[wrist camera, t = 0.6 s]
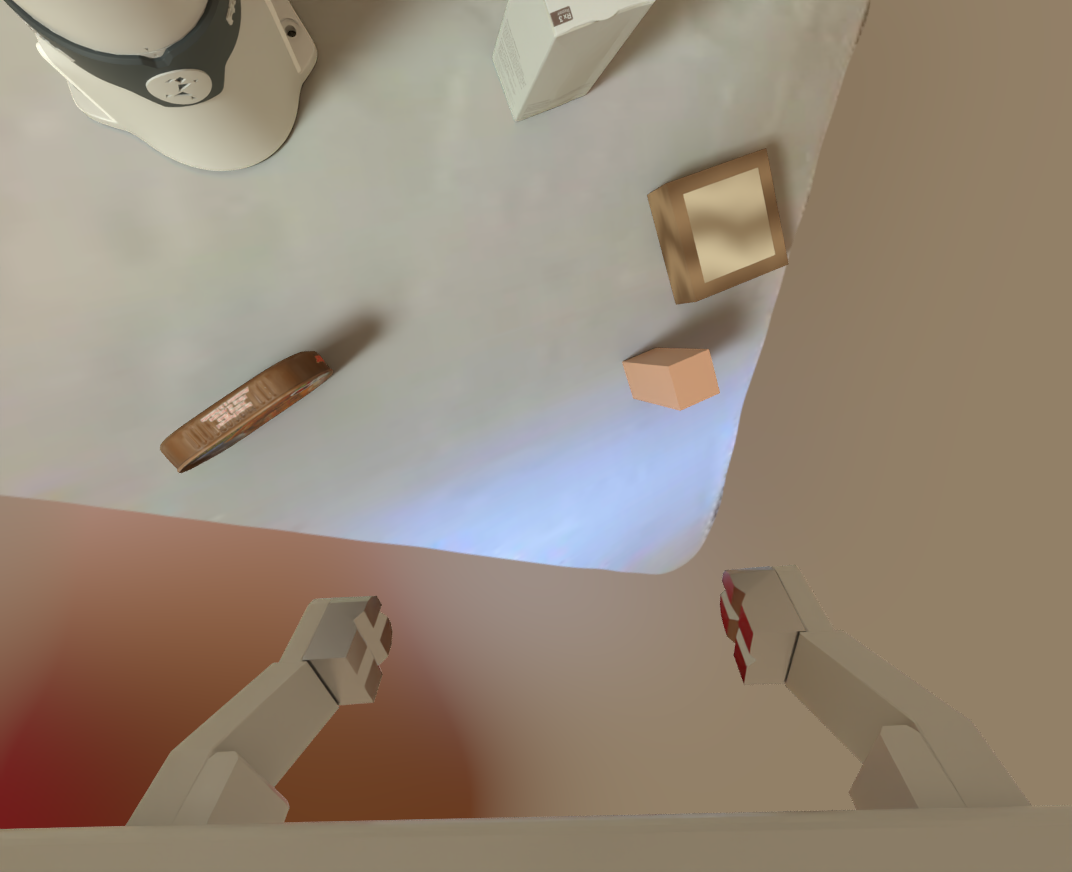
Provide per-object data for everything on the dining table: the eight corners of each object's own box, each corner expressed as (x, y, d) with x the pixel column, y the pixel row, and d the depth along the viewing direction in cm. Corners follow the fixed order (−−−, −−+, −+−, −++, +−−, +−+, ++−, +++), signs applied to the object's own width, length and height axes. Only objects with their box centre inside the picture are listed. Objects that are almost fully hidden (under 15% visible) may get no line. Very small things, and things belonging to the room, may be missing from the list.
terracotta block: (622, 361, 53) (668, 366, 44) (656, 347, 54) (708, 349, 45) (633, 398, 55) (680, 410, 45) (666, 383, 55) (719, 392, 46)
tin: (207, 462, 45) (164, 488, 37) (182, 436, 44) (131, 457, 36) (341, 371, 46) (327, 377, 38) (320, 343, 45) (301, 344, 37)
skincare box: (564, 32, 45) (635, -107, 31) (587, 100, 47) (663, -3, 33) (486, 60, 44) (522, -72, 30) (512, 128, 46) (558, 34, 32)
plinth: (647, 195, 50) (666, 182, 46) (740, 161, 52) (766, 147, 48) (675, 304, 54) (696, 301, 50) (762, 269, 56) (789, 264, 52)
